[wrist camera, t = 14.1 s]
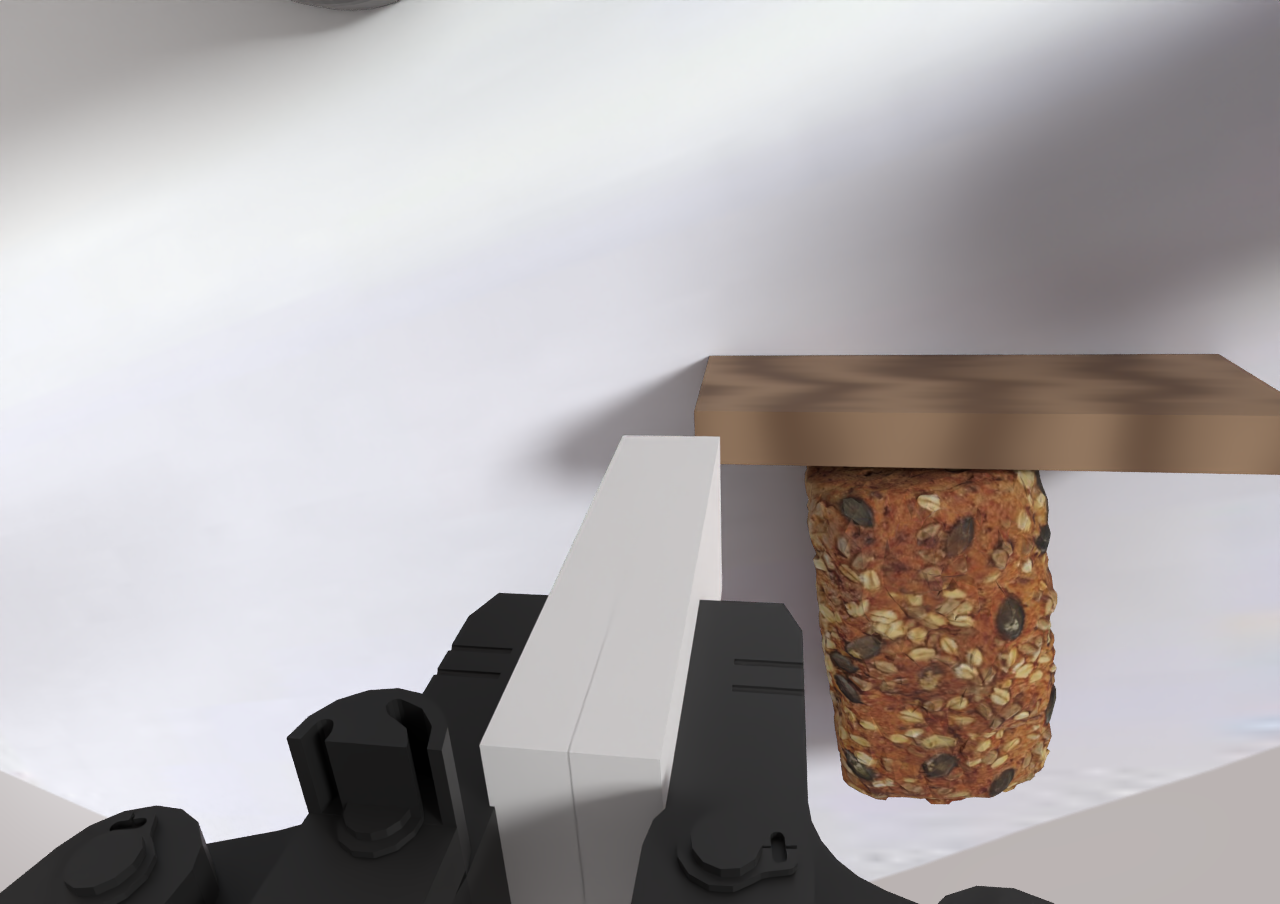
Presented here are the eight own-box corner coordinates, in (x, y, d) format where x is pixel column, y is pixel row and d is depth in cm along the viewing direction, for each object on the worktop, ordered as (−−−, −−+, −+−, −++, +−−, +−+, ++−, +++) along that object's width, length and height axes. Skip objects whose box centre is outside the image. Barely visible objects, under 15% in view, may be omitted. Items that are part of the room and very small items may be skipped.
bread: (800, 424, 43) (804, 512, 34) (1014, 400, 41) (1079, 489, 32) (832, 701, 50) (842, 835, 41) (1016, 695, 48) (1070, 836, 39)
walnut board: (710, 400, 43) (695, 463, 36) (709, 355, 42) (694, 411, 35) (1206, 403, 39) (1301, 475, 32) (1218, 354, 38) (1319, 415, 31)
